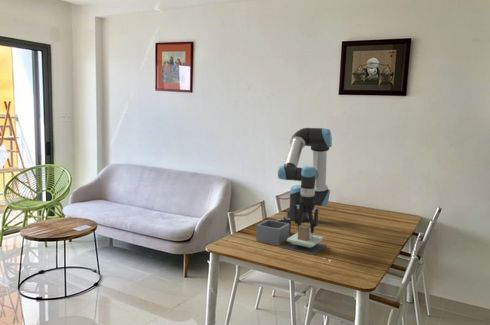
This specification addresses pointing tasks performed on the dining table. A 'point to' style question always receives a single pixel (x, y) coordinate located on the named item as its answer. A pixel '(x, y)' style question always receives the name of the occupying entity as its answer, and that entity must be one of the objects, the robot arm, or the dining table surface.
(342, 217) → the dining table surface
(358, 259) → the dining table surface
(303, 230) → the block on square base
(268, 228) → the storage box
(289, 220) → the dark elongated oval piece
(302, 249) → the mat
